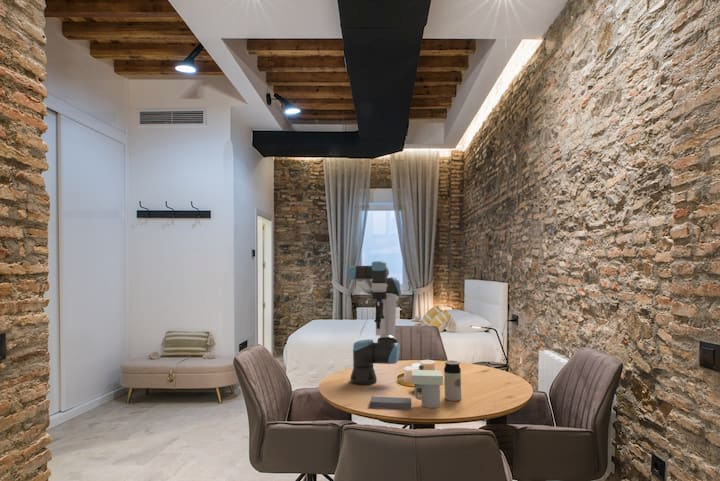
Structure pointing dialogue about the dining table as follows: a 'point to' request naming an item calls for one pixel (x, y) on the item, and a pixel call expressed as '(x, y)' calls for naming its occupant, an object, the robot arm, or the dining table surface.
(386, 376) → the dining table surface
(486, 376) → the dining table surface
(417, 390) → the mortar and pestle
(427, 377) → the lid
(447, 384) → the travel mug
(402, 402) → the mat
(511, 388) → the dining table surface
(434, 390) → the mug
